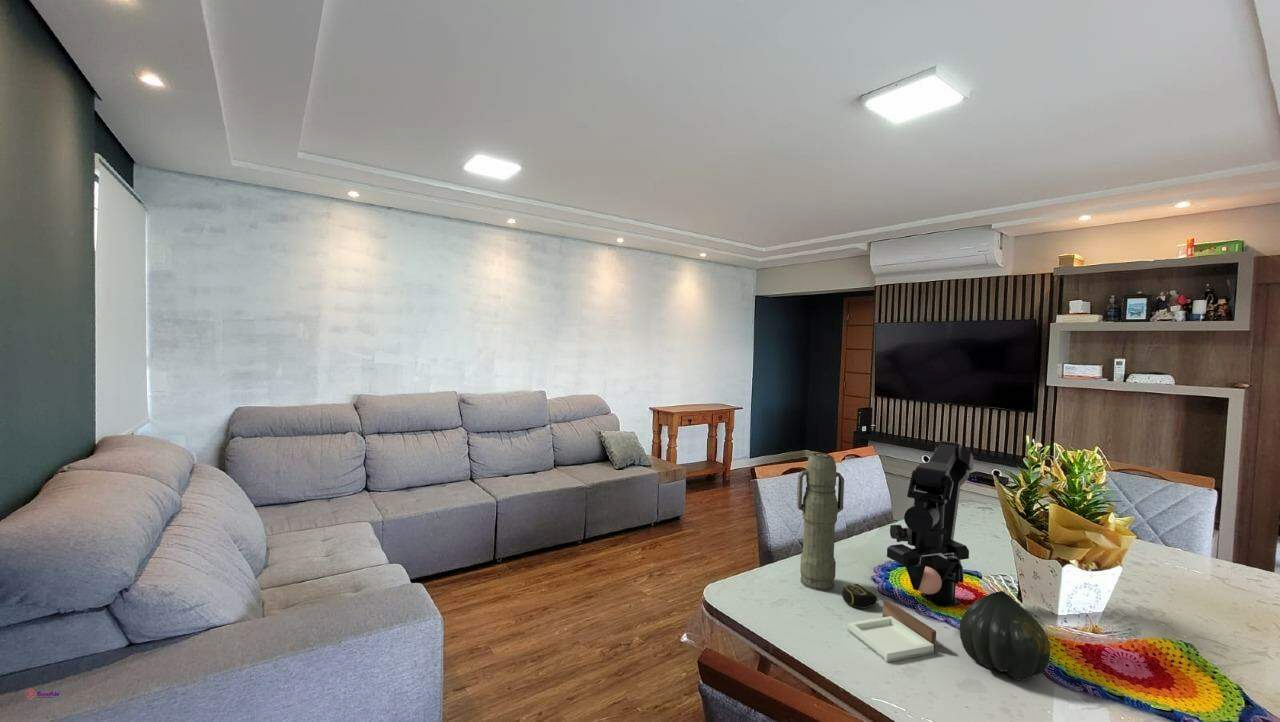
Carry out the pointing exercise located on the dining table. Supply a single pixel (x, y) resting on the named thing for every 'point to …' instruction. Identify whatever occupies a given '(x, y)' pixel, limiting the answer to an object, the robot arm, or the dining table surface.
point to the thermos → (819, 520)
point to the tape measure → (858, 596)
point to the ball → (930, 581)
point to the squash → (1004, 636)
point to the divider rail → (909, 621)
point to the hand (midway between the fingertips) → (926, 588)
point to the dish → (890, 638)
